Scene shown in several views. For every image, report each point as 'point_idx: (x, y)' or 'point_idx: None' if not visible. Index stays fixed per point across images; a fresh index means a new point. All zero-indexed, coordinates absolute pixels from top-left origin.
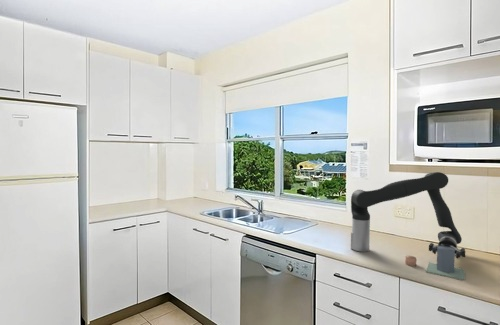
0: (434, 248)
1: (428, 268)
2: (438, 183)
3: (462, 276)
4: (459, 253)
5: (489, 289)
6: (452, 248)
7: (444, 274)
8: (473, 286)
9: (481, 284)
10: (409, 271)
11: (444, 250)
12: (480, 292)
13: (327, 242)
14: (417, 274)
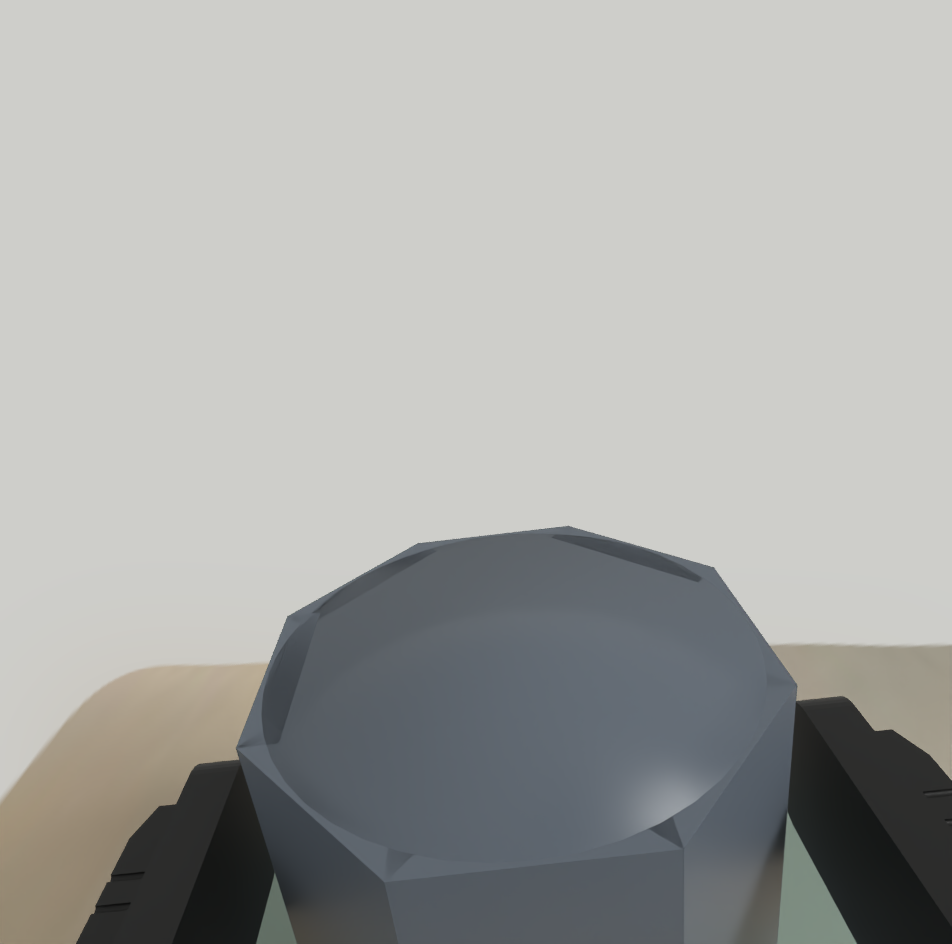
0: (911, 788)
1: (826, 914)
2: None
3: (274, 919)
4: (115, 915)
5: (65, 781)
6: (307, 757)
7: None
8: (221, 751)
9: (77, 878)
10: (927, 698)
11: (518, 544)
12: (207, 667)
13: None
14: (798, 678)
